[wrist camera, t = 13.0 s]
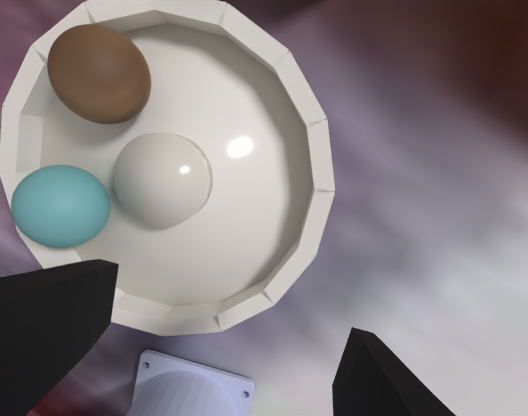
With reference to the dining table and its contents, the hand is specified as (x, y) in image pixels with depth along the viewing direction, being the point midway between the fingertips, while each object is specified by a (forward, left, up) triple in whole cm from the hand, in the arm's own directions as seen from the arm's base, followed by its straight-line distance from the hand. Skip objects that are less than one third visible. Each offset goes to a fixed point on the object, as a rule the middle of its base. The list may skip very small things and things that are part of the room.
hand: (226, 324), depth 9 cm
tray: (+2, +6, -10) cm, 12 cm away
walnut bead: (+6, +10, -9) cm, 14 cm away
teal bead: (0, +11, -9) cm, 14 cm away
